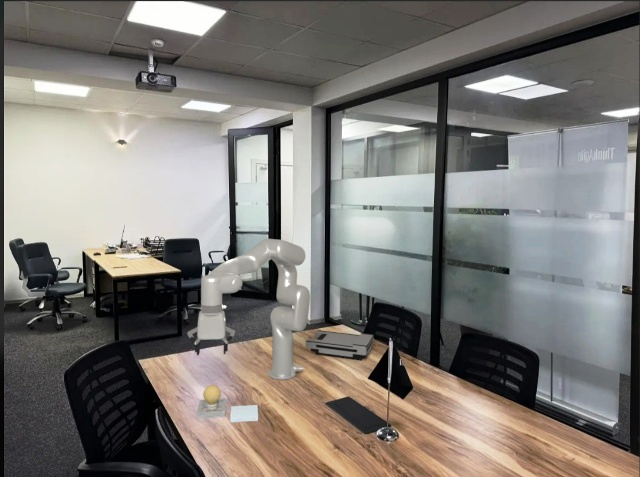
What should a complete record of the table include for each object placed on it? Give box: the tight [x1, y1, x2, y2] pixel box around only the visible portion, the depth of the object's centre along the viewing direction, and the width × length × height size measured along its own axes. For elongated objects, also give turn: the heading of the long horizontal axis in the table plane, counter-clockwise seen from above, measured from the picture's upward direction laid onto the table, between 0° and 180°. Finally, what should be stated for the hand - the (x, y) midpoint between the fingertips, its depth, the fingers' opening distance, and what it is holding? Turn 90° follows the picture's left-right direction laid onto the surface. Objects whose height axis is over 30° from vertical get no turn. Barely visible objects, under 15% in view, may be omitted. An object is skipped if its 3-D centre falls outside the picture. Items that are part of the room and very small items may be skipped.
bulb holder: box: [196, 397, 227, 420], centre depth 161 cm, size 10×10×2 cm
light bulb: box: [203, 384, 222, 410], centre depth 160 cm, size 6×6×10 cm
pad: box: [229, 404, 259, 423], centre depth 159 cm, size 10×10×1 cm
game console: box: [305, 329, 375, 362], centre depth 228 cm, size 21×32×8 cm, turn 72°
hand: (211, 353), depth 159 cm, fingers open, 9 cm apart
